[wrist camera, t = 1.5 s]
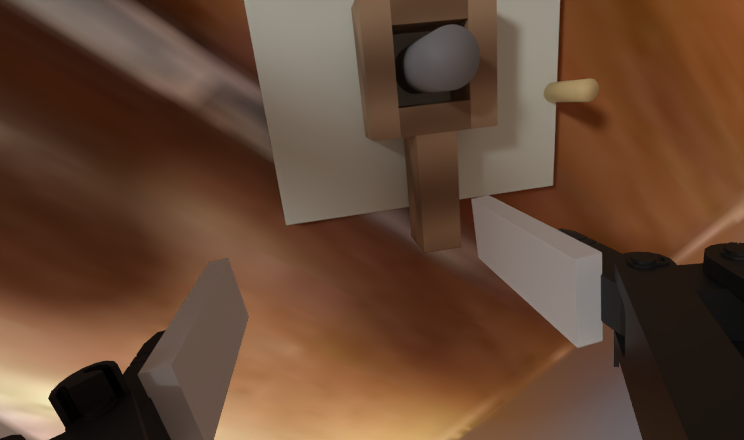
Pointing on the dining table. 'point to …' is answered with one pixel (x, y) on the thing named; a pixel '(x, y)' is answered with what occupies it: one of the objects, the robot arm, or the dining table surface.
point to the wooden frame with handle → (426, 104)
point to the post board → (401, 104)
